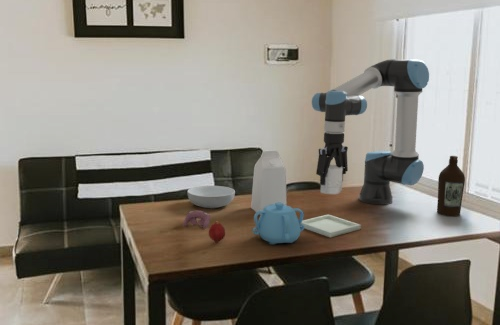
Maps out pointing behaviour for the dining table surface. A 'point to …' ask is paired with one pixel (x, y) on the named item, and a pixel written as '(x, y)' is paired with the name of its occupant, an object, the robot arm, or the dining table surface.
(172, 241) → the dining table surface
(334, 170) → the white cup
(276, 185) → the milk
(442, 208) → the olive oil
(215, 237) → the onion
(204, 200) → the serving bowl
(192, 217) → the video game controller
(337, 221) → the tray
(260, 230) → the decorative pot
